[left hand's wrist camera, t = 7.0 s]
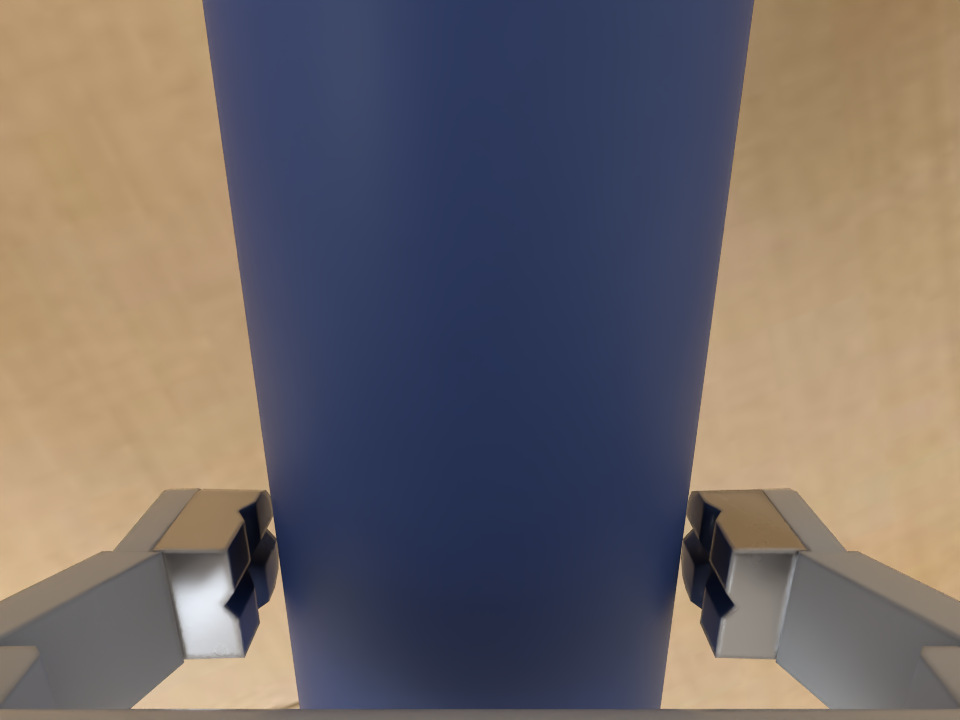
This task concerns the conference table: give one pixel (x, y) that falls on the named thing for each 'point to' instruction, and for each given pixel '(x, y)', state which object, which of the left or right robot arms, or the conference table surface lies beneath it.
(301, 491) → the rod
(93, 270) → the conference table surface
